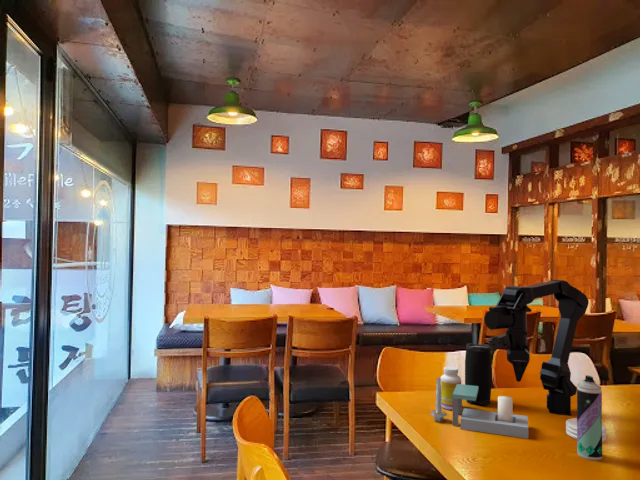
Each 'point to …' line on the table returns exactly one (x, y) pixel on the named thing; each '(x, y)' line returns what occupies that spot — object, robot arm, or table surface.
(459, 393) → the l-shaped bracket
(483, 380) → the portable speaker
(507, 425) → the socket board
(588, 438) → the spray can
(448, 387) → the supplement bottle
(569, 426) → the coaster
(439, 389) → the screw
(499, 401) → the peg
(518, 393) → the table surface
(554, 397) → the robot arm
